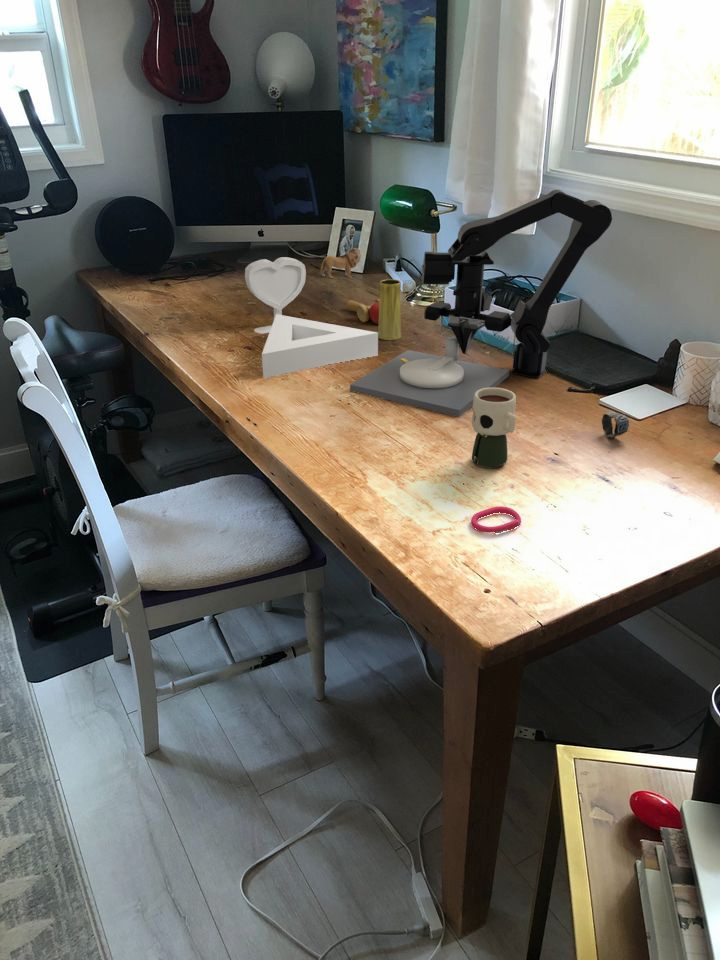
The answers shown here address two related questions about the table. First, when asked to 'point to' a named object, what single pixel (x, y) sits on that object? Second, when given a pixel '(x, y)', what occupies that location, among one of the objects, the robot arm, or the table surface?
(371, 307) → the kendama
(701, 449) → the table surface
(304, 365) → the triangle block
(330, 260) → the lion figurine
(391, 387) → the dial plate
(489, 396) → the character mug
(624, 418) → the wristwatch
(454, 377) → the dial
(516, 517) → the fitness band
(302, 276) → the heart sculpture
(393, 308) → the vase
